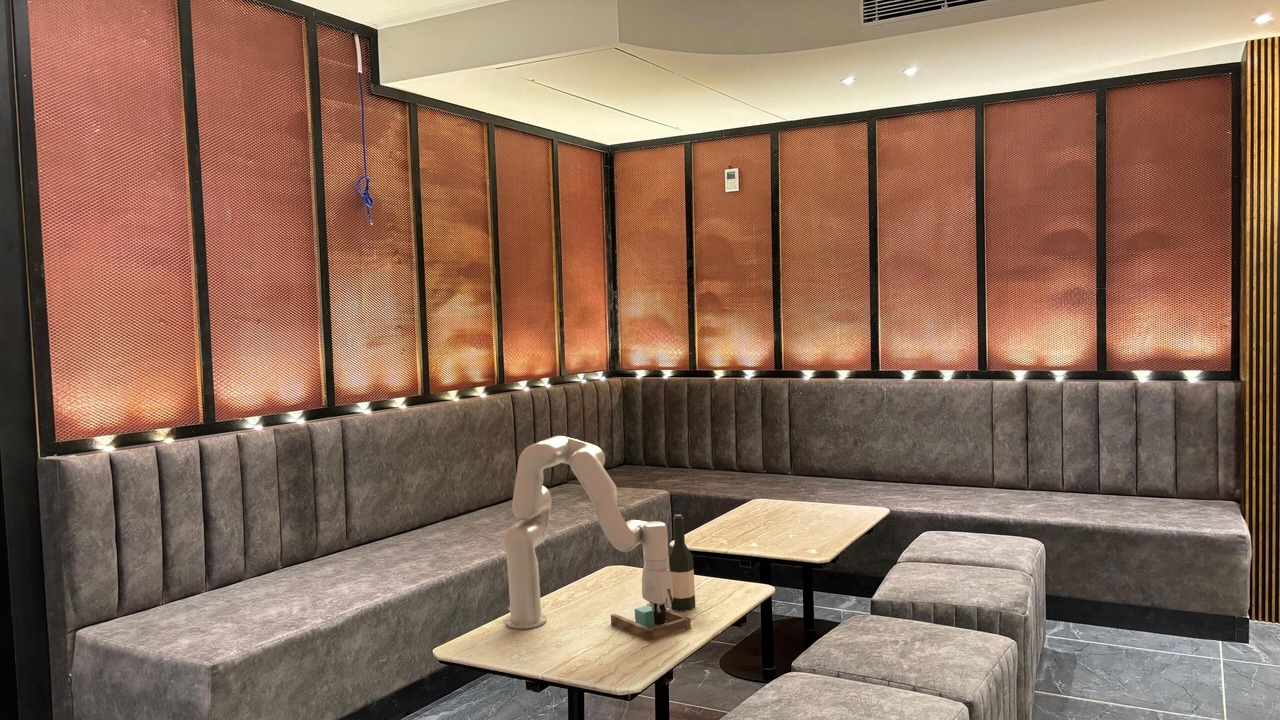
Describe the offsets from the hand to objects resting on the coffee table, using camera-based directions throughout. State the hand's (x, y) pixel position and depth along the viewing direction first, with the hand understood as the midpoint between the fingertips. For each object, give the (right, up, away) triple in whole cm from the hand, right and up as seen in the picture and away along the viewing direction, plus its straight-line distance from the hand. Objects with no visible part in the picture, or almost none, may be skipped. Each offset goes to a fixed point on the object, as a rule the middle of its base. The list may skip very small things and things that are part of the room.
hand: (660, 623), depth 262 cm
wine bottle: (+8, -1, +20) cm, 21 cm away
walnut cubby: (-3, -2, +4) cm, 6 cm away
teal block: (-4, -2, +5) cm, 7 cm away
